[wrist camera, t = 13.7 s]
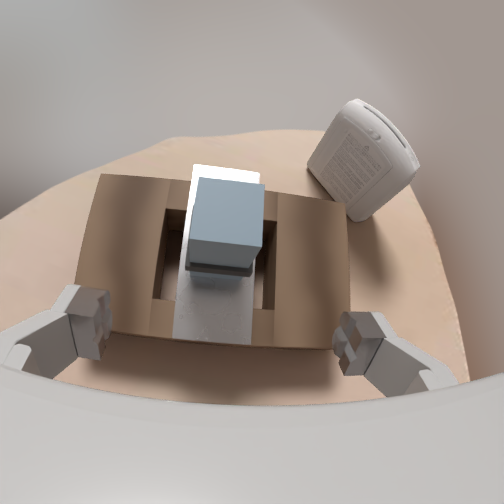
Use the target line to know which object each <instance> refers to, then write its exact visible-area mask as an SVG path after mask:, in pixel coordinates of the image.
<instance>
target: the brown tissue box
mask: <svg viewBox="0 0 504 504" xmlns="http://www.w3.org/2000/svg"><path fill="white" fill-rule="evenodd" d="M191 182H192V181H184V180H174V179H164V178H153V177H141V176H128V175H114V174H101V175H100V178H99V182H98V185H97V188H96V192H95V195H94V199H93V202H92V206H91V210H90V214H89V217H88V221H87V225H86V230H85V234H84V238H83V242H82V247H81V252H80V256H79V261H78V266H77V272H76V277H75V283H74V284H75V285H81V286H87V287H93V288H99V289H105V290H108V291H109V292H110V299H111V301H110V304H109V306H108V307H109V309H110V310H111V311H112V329H111V332H112V333H118V334H125V335H131V336H139V337H146V338H154V339H162V340H170V341H179V342H189V343H199V344H210V345H222V346H236V347H253V348H273V349H308V350H330V349H333V348H332V337H333V334H334V332H335V330H336V329H337V328H338V327H339V326H340V322H339V319H340V316H341V314H342V313H343V312H344V311H347V312H350V274H349V251H348V234H347V220H346V207H345V203H340V202H335V201H329V200H323V199H317V198H311V197H305V196H299V195H292V194H286V193H279V192H272V191H265V190H264V213H263V235H262V240H265V257H264V281H263V304H262V309H253V314H252V334H251V345H238V344H224V343H212V342H201V341H190V340H181V339H173V338H172V333H173V322H174V311H175V301H169V300H160V291H161V283H162V275H163V267H164V260H165V253H166V246H167V239H168V233H169V230H175V231H184V228H185V221H186V214H187V207H188V201H189V194H190V188H191Z"/></svg>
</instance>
